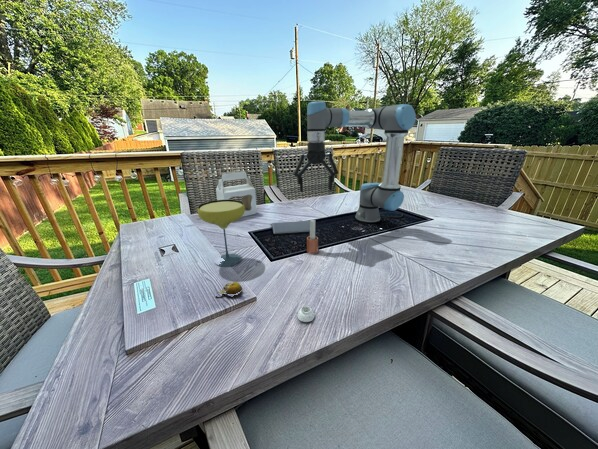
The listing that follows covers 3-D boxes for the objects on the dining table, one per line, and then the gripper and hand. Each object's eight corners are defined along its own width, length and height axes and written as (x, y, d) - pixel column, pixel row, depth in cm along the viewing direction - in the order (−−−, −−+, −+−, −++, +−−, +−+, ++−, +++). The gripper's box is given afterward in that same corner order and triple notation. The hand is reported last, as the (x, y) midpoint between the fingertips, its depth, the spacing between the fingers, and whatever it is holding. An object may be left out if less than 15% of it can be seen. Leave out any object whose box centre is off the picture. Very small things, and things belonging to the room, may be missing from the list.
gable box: (248, 209, 178) (245, 169, 169) (257, 213, 169) (254, 172, 159) (218, 215, 166) (213, 173, 156) (226, 220, 156) (220, 175, 146)
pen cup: (316, 248, 117) (316, 235, 115) (319, 253, 113) (319, 239, 110) (305, 249, 117) (305, 236, 114) (307, 254, 112) (308, 240, 109)
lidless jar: (300, 309, 77) (295, 320, 73) (300, 302, 76) (294, 312, 72) (316, 313, 76) (311, 324, 71) (316, 305, 75) (311, 316, 70)
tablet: (309, 222, 152) (309, 220, 152) (315, 232, 136) (315, 230, 136) (271, 224, 149) (271, 222, 148) (273, 235, 133) (273, 233, 133)
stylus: (314, 249, 116) (314, 219, 110) (315, 251, 114) (316, 221, 108) (309, 249, 115) (309, 219, 110) (310, 252, 113) (310, 221, 108)
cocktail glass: (226, 276, 96) (218, 215, 87) (196, 263, 105) (187, 207, 96) (257, 257, 110) (253, 203, 101) (228, 247, 119) (222, 197, 110)
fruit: (227, 283, 91) (226, 275, 89) (247, 287, 88) (246, 279, 87) (213, 297, 83) (211, 288, 82) (234, 302, 81) (233, 292, 80)
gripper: (288, 143, 100) (290, 194, 108) (347, 141, 104) (344, 190, 112) (286, 142, 107) (287, 190, 115) (341, 140, 111) (339, 187, 119)
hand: (315, 190), depth 113 cm, fingers open, 13 cm apart
